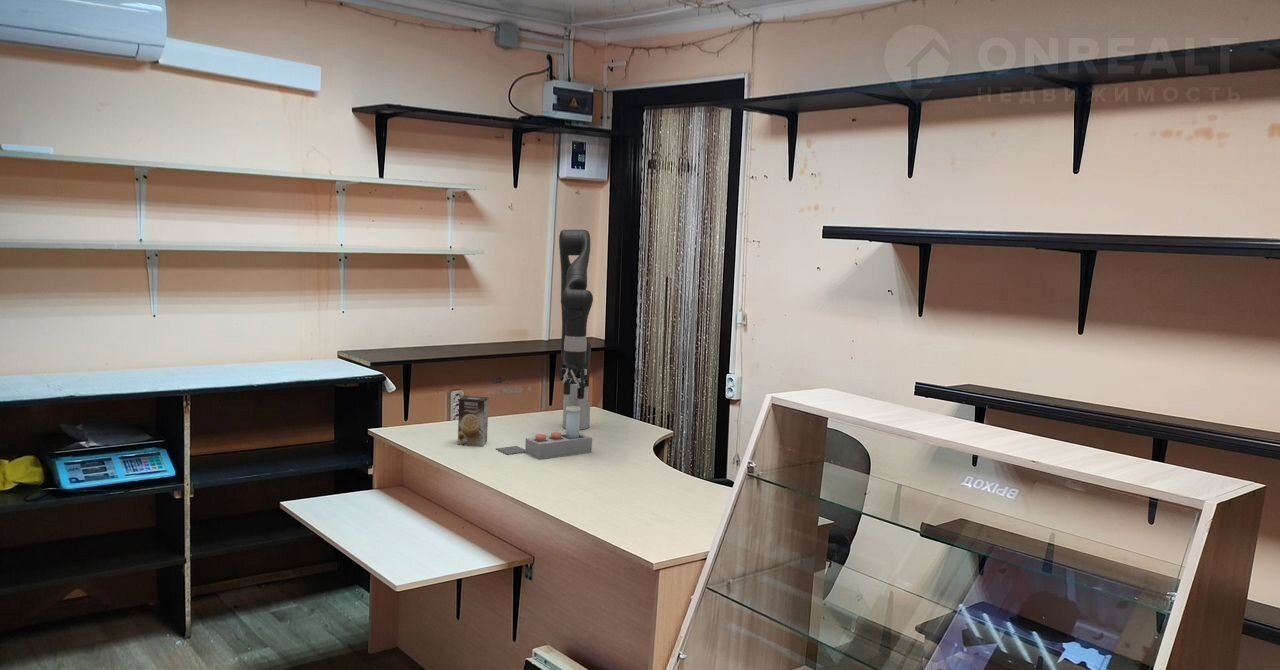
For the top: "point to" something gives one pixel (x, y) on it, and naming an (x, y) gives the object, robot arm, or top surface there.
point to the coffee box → (473, 420)
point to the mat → (511, 450)
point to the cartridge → (572, 422)
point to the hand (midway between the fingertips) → (573, 396)
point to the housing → (558, 446)
